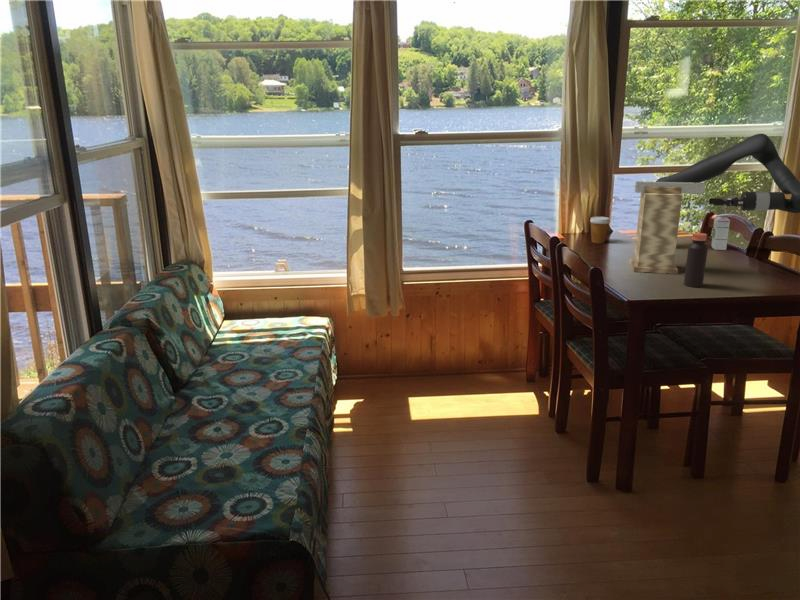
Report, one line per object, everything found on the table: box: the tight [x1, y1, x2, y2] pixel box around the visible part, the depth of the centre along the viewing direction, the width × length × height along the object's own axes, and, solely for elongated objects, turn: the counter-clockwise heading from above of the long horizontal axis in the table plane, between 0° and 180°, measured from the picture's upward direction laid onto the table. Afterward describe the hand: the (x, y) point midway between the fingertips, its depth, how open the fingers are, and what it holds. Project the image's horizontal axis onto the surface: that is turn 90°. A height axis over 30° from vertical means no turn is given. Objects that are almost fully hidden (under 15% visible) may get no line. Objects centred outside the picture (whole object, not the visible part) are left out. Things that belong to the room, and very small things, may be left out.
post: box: [628, 187, 683, 275], centre depth 273 cm, size 17×15×34 cm
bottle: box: [683, 232, 708, 288], centre depth 251 cm, size 7×7×20 cm
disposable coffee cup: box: [589, 216, 611, 244], centre depth 326 cm, size 10×10×12 cm
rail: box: [634, 180, 707, 195], centre depth 268 cm, size 26×4×4 cm, turn 78°
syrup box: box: [710, 216, 731, 251], centre depth 310 cm, size 6×6×14 cm
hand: (711, 201), depth 269 cm, fingers open, 8 cm apart
